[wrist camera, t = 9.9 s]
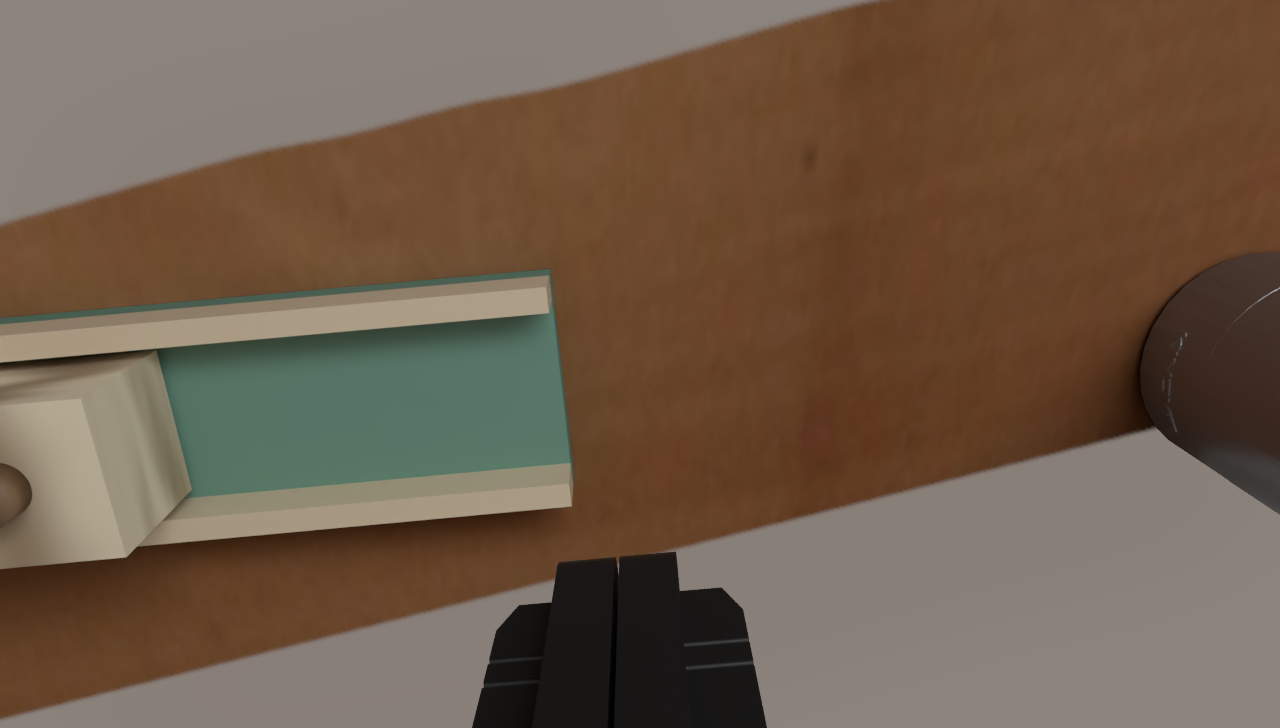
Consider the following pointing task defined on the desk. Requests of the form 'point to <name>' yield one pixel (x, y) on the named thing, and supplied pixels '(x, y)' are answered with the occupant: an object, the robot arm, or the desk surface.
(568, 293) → the desk surface
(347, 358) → the rail
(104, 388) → the cream knobbed cube
